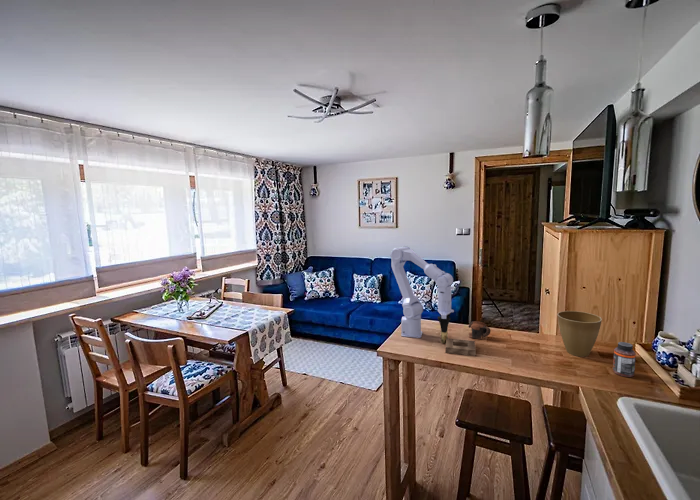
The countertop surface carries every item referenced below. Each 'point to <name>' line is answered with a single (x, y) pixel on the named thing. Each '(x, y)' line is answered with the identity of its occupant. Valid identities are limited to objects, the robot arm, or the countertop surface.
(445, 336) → the pin
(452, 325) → the countertop surface
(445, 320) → the robot arm
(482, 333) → the pottery mug
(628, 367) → the supplement bottle
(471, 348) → the slot block
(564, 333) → the plant pot
